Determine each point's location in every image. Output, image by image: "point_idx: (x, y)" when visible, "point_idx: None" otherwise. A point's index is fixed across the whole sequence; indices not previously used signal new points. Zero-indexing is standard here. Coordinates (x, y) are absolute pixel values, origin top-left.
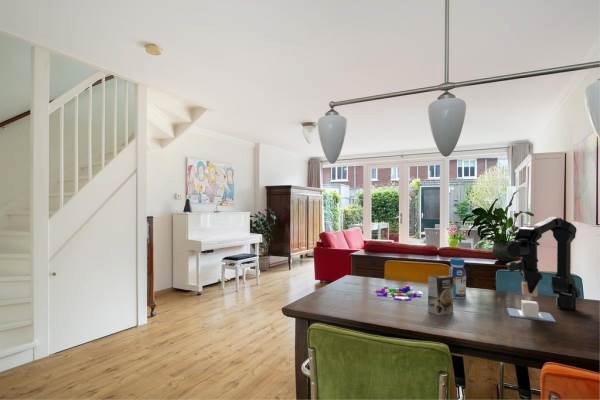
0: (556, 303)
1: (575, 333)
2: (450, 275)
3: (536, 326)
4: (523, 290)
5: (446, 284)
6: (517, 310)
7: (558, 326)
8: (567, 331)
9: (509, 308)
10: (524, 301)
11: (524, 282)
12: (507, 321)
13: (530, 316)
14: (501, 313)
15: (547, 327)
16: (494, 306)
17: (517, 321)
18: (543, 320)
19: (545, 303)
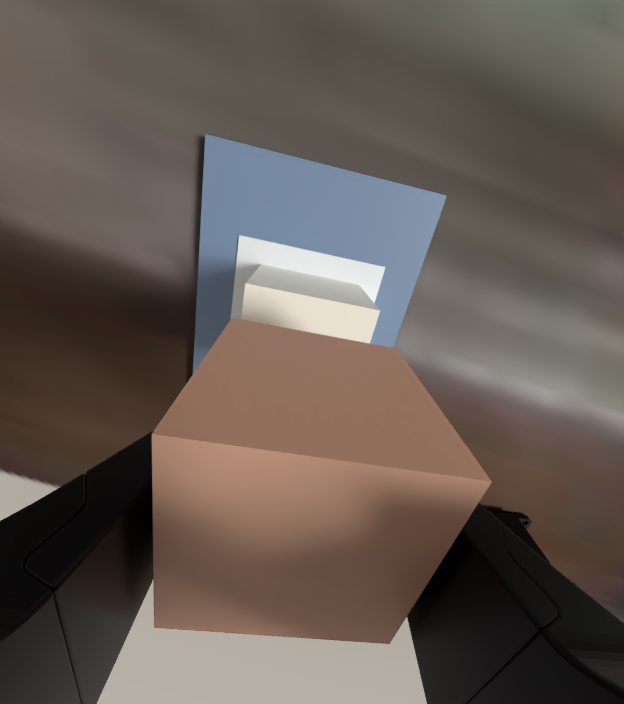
0: (511, 526)
1: (31, 428)
2: None
3: (32, 266)
4: (215, 346)
5: None
6: (379, 263)
7: (119, 396)
8: (43, 405)
9: (428, 214)
10: (325, 322)
11: (342, 499)
12: (25, 45)
13: (232, 302)
14: (284, 80)
15: (56, 330)
16: (517, 91)
17: (84, 157)
18: (194, 357)
19: (576, 486)
